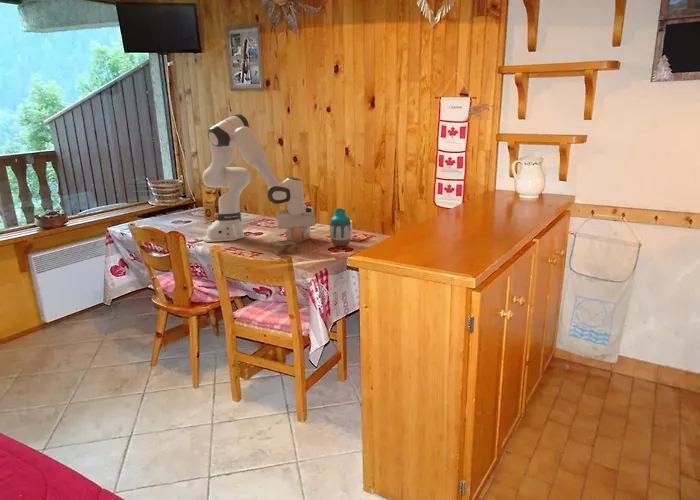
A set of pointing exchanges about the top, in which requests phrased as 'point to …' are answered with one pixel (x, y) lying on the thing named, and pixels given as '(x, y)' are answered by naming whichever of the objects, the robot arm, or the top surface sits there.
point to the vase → (340, 228)
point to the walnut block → (283, 247)
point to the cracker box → (307, 232)
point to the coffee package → (210, 204)
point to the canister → (297, 234)
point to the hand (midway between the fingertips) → (296, 235)
